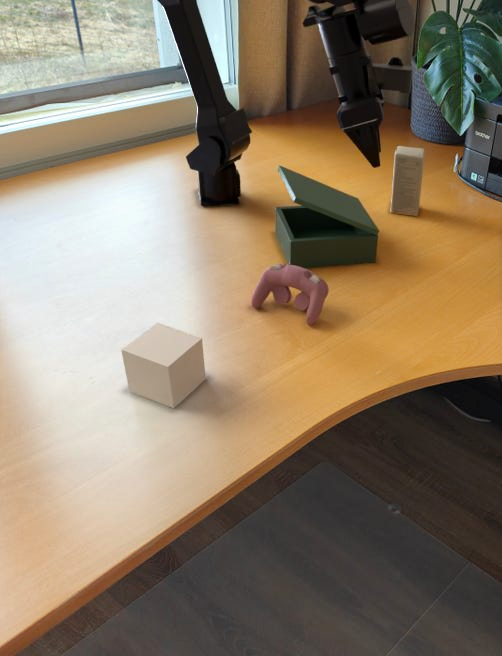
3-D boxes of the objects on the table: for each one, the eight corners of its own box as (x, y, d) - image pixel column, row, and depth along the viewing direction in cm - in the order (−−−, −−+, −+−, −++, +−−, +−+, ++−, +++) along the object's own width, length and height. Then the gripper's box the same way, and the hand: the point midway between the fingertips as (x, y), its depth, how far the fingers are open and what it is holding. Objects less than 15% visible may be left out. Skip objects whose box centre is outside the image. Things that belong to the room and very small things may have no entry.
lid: (293, 202, 93) (295, 197, 93) (277, 169, 102) (279, 165, 101) (377, 235, 101) (379, 231, 101) (356, 202, 110) (358, 198, 109)
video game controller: (324, 324, 92) (336, 276, 91) (311, 327, 88) (323, 276, 87) (261, 305, 94) (271, 257, 93) (246, 307, 90) (256, 256, 88)
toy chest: (290, 269, 100) (290, 241, 97) (275, 233, 108) (275, 206, 105) (375, 263, 105) (378, 235, 102) (355, 229, 113) (356, 203, 110)
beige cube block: (205, 378, 78) (202, 338, 75) (173, 408, 74) (168, 367, 70) (163, 362, 80) (157, 322, 76) (128, 391, 75) (121, 349, 71)
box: (419, 207, 123) (427, 148, 116) (417, 217, 119) (424, 157, 113) (391, 202, 123) (397, 144, 116) (388, 212, 119) (394, 152, 113)
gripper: (402, 42, 86) (431, 160, 93) (400, 32, 102) (425, 133, 110) (320, 66, 87) (355, 181, 94) (331, 52, 103) (360, 151, 111)
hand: (377, 159), depth 102 cm, fingers open, 9 cm apart
